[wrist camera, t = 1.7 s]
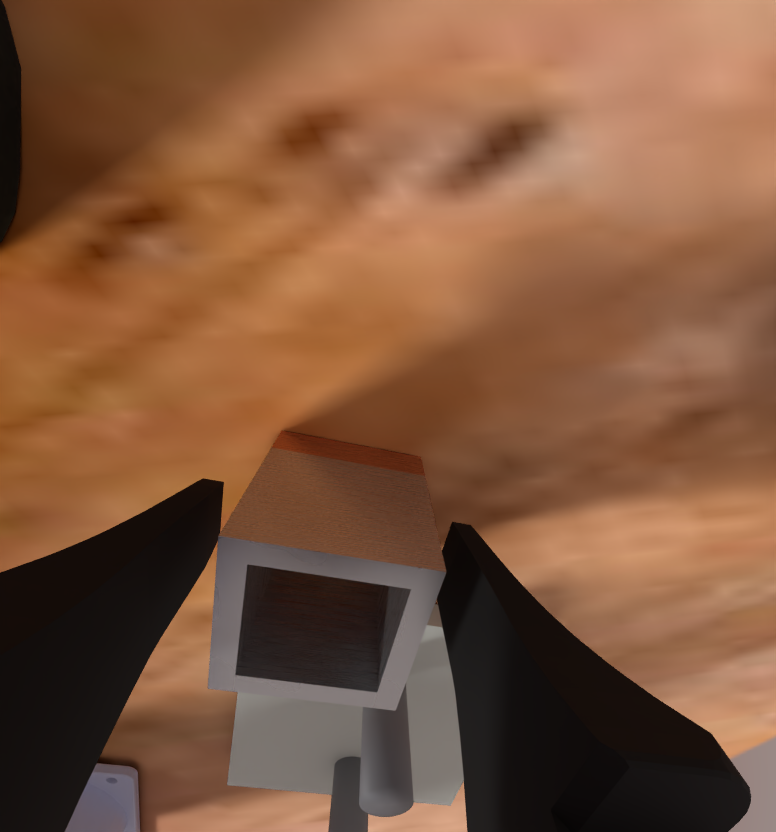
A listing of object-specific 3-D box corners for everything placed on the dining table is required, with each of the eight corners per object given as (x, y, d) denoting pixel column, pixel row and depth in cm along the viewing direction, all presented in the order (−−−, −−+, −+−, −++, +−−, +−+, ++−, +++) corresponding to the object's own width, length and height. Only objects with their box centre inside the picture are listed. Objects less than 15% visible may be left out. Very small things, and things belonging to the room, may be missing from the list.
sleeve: (267, 543, 13) (207, 688, 9) (282, 430, 12) (218, 535, 7) (390, 563, 14) (395, 711, 9) (420, 457, 12) (446, 572, 8)
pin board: (234, 759, 18) (185, 925, 14) (257, 577, 14) (196, 730, 9) (446, 780, 19) (468, 940, 15) (527, 618, 15) (594, 773, 10)
